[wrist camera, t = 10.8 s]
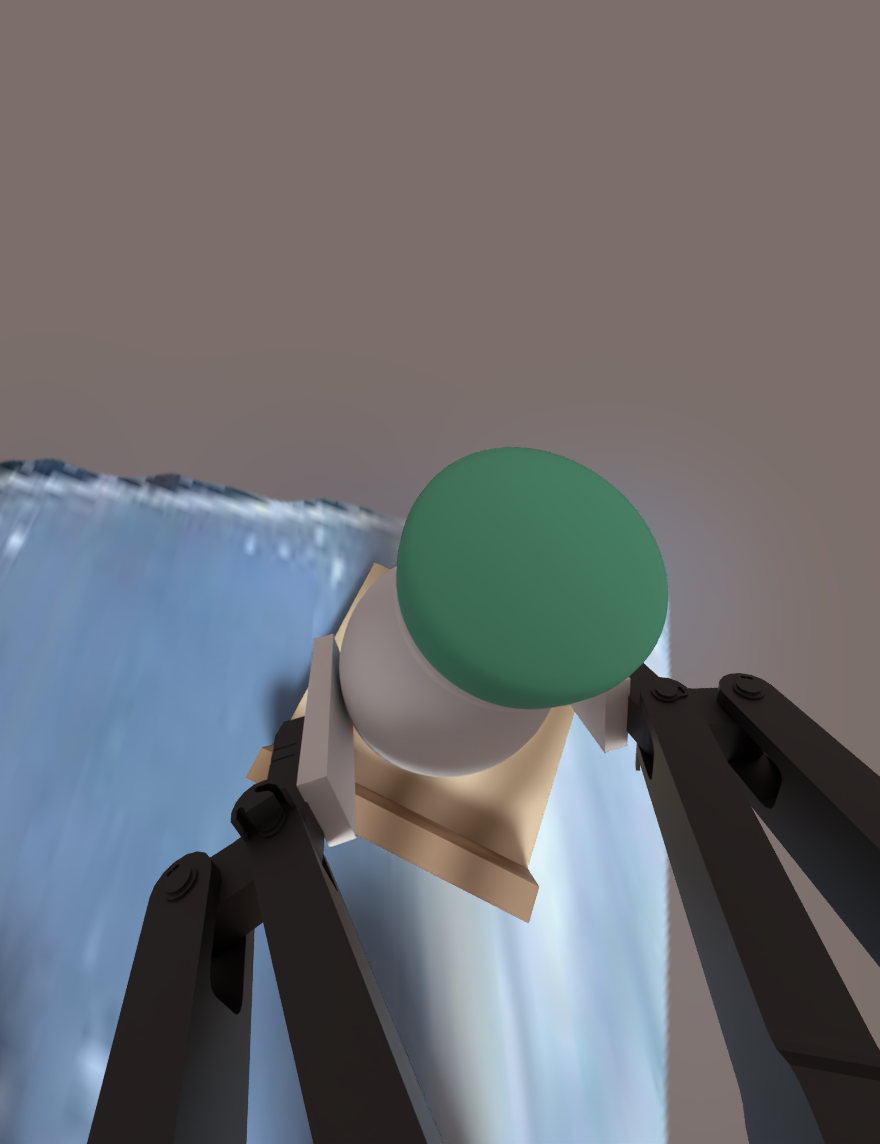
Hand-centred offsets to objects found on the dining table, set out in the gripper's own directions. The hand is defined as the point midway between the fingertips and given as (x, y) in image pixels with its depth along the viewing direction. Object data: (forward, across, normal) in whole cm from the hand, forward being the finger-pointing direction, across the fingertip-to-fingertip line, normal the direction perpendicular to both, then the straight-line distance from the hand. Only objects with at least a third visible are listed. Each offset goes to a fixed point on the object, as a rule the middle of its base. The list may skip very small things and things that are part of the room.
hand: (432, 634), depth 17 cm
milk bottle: (+5, -2, -8) cm, 9 cm away
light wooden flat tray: (+10, 0, -15) cm, 18 cm away
